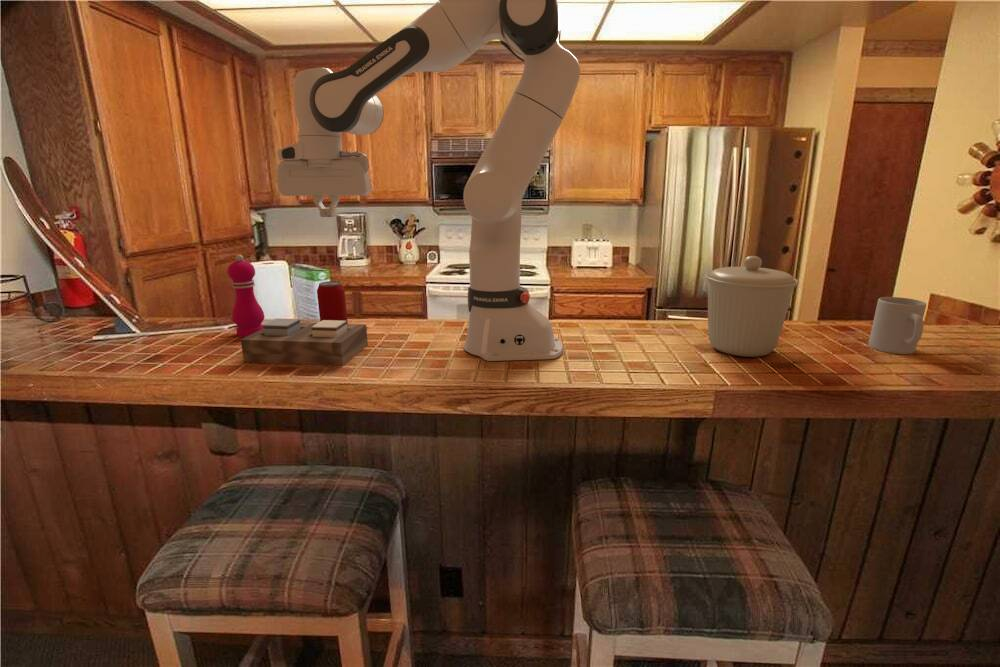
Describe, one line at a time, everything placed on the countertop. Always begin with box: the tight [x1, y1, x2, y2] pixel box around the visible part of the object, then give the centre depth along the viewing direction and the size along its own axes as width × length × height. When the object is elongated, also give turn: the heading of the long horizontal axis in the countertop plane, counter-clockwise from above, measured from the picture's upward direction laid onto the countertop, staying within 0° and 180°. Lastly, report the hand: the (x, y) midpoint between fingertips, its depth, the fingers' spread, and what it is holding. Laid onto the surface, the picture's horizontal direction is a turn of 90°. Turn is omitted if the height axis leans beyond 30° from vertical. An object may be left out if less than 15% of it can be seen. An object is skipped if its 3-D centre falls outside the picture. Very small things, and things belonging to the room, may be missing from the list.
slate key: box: [262, 318, 301, 336], centre depth 111 cm, size 6×6×5 cm
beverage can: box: [316, 280, 349, 324], centre depth 130 cm, size 7×7×12 cm
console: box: [240, 322, 369, 367], centre depth 111 cm, size 22×14×5 cm, turn 83°
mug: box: [868, 296, 927, 355], centre depth 110 cm, size 12×8×11 cm
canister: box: [704, 255, 800, 358], centre depth 109 cm, size 18×18×21 cm
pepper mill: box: [227, 254, 265, 338], centre depth 124 cm, size 7×7×20 cm
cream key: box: [311, 320, 348, 338], centre depth 110 cm, size 6×6×5 cm
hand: (327, 216), depth 113 cm, fingers closed
